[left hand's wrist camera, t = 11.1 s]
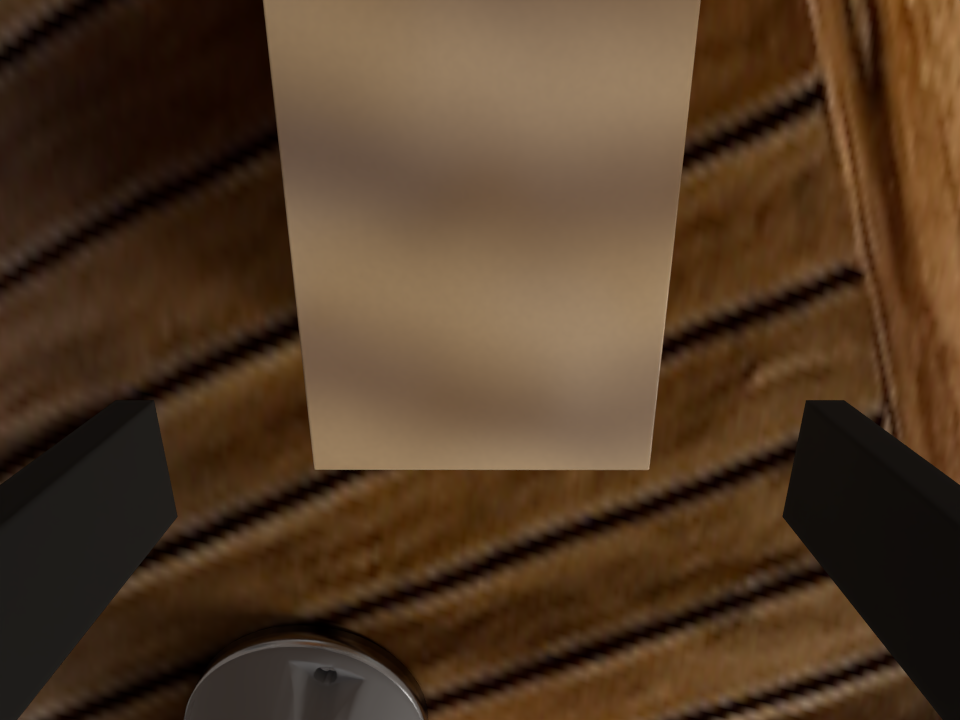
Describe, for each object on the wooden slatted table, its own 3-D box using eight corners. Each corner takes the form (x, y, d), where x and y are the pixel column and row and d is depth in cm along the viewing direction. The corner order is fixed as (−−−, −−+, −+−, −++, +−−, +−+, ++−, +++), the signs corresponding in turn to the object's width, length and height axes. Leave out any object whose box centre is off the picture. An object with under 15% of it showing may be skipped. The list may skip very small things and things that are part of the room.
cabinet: (346, -86, 25) (232, -266, 14) (617, -86, 25) (730, -268, 14) (374, 348, 32) (313, 470, 20) (589, 348, 31) (649, 470, 20)
